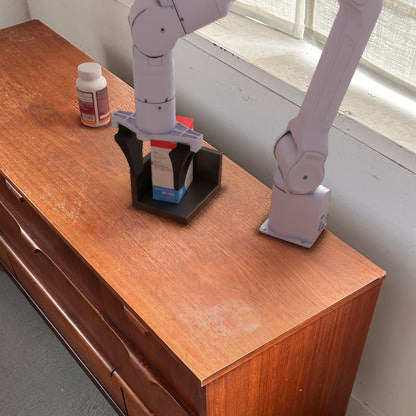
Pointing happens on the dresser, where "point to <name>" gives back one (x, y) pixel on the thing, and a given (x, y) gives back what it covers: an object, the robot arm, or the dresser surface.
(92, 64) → the pill bottle
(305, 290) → the dresser surface
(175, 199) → the ink box
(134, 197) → the box
